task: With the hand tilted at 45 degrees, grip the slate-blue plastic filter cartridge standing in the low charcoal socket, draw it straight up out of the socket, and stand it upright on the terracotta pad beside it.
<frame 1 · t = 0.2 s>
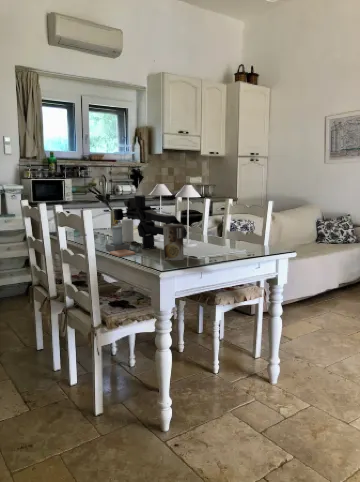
hand: (121, 212, 232), 16 cm above the table, tool horizontal, fingers open, 9 cm apart
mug: (125, 241, 234), on the table
dock: (117, 249, 212), on the table
coffee box: (173, 259, 191), on the table
cartridge: (117, 238, 211), in the dock
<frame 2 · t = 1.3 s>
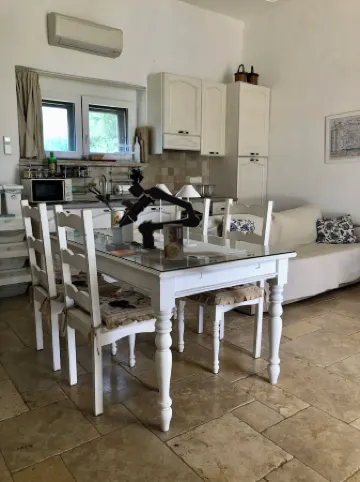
hand: (118, 225, 212), 12 cm above the table, tool tilted 50°, fingers open, 9 cm apart
cartridge: (117, 238, 211), in the dock, touching gripper
everything else where it was.
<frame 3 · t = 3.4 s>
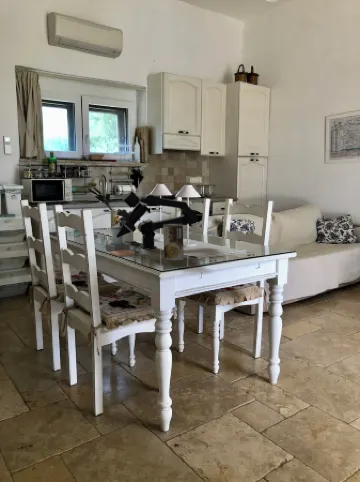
hand: (116, 236, 210), 7 cm above the table, tool tilted 45°, fingers closed on cartridge, 5 cm apart
cartridge: (117, 238, 211), in the dock, touching gripper
everything else where it was.
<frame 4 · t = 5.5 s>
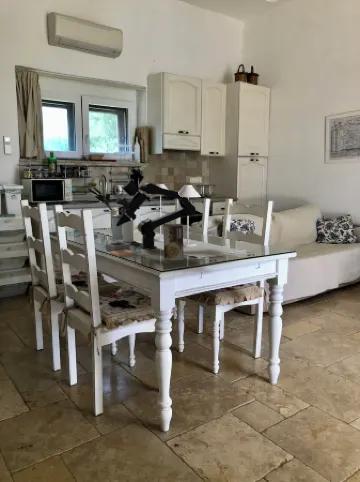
hand: (115, 225, 208), 13 cm above the table, tool tilted 45°, fingers closed on cartridge, 5 cm apart
cartridge: (117, 227, 209), point 12 cm above the table, touching gripper
everything else where it was.
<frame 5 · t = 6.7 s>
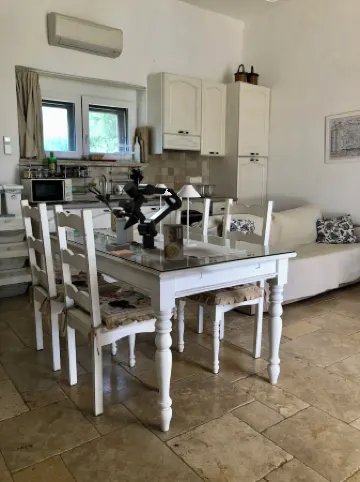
hand: (120, 228, 199), 12 cm above the table, tool tilted 45°, fingers closed on cartridge, 5 cm apart
cartridge: (121, 231, 200), point 11 cm above the table, touching gripper
everything else where it was.
when the fingers open (9 cm above the table, at t = 7.8 s): cartridge stays where it is, resting on dock.
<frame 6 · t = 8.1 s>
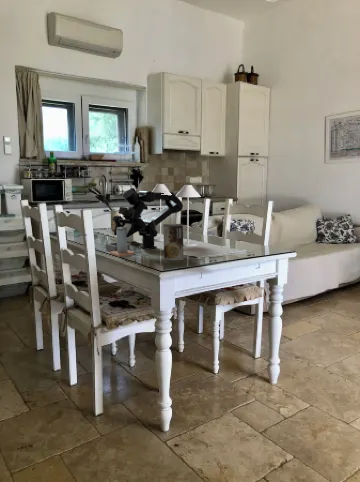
hand: (120, 235, 200), 9 cm above the table, tool tilted 45°, fingers open, 8 cm apart
cartridge: (122, 239, 201), point 7 cm above the table, touching dock
everything else where it was.
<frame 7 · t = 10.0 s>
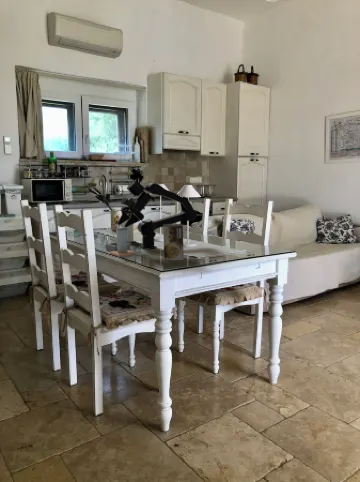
hand: (121, 225, 207), 13 cm above the table, tool tilted 45°, fingers open, 9 cm apart
nothing on the table moved.
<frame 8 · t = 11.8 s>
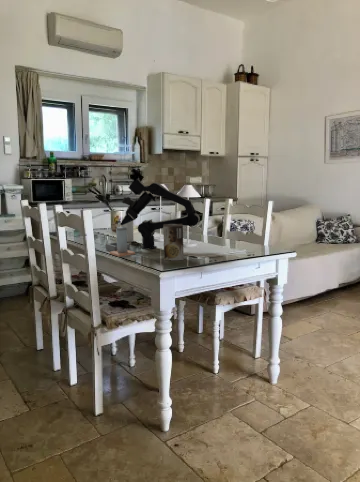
hand: (121, 223, 213), 13 cm above the table, tool tilted 45°, fingers open, 9 cm apart
nothing on the table moved.
at the end: cartridge 0.1 cm from the target spot on the dock, point 7.0 cm above the dock's base; cartridge tilted 1°; the gripper is holding nothing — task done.
